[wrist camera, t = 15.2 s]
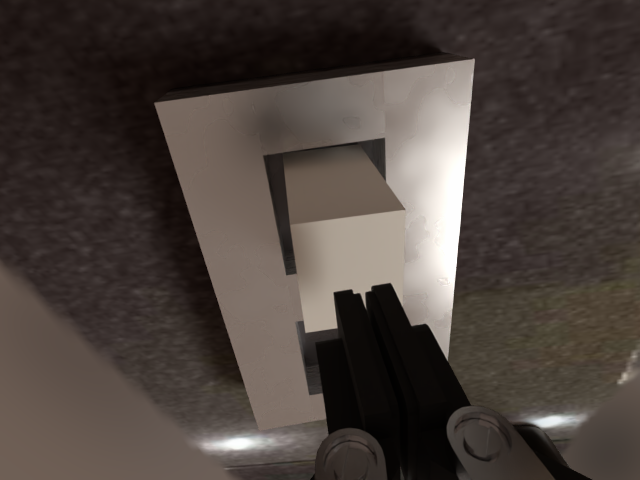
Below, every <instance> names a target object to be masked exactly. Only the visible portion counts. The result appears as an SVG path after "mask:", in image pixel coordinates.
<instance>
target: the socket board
mask: <svg viewBox="0 0 640 480" xmlns="http://www.w3.org/2000/svg"><path fill="white" fill-rule="evenodd" d="M474 62H475V59H473V58H468V57H463V56H459V55H454V54H449V53H445V52H442V53H434V54H427V55H420V56H412V57H405V58H397V59H390V60H383V61H375V62H368V63H361V64H353V65H346V66H338V67H331V68H324V69H316V70H309V71H302V72H294V73H287V74H280V75H272V76H265V77H257V78H250V79H243V80H235V81H228V82H221V83H213V84H206V85H198V86H191V87H184V88H176V89H171V90H170V91H169V92H168V93H166V94H165V95H164V96H162V97H161V98H160V99H159V100H157V101H156V102H155V103H154V104H155V107H156V110H157V113H158V116H159V119H160V122H161V126H162V129H163V132H164V135H165V138H166V141H167V144H168V147H169V150H170V154H171V157H172V160H173V163H174V166H175V169H176V172H177V175H178V179H179V182H180V185H181V188H182V191H183V194H184V197H185V200H186V203H187V207H188V210H189V213H190V216H191V219H192V222H193V225H194V228H195V232H196V235H197V238H198V241H199V244H200V247H201V250H202V253H203V256H204V260H205V263H206V266H207V269H208V272H209V275H210V278H211V281H212V285H213V288H214V291H215V294H216V297H217V300H218V303H219V306H220V309H221V313H222V316H223V319H224V322H225V325H226V328H227V331H228V334H229V338H230V341H231V344H232V347H233V350H234V353H235V356H236V359H237V362H238V366H239V369H240V372H241V375H242V378H243V381H244V384H245V387H246V391H247V394H248V397H249V400H250V403H251V406H252V409H253V412H254V416H255V419H256V422H257V425H258V428H259V431H260V430H266V429H271V428H277V427H283V426H288V425H294V424H300V423H305V422H311V421H316V420H322V419H326V412H325V406H324V399H323V392H322V385H321V379H320V372H319V365H318V358H317V352H316V345H315V342H320V341H326V340H332V339H338V338H339V337H338V329H337V328H335V329H328V330H322V331H315V332H308V333H305V326H304V319H303V312H302V305H301V298H300V291H299V284H298V277H297V270H296V263H295V256H294V249H293V242H292V235H291V228H290V220H289V210H288V201H287V192H286V182H285V173H284V164H283V153H291V152H299V151H308V150H316V149H324V148H332V147H341V146H349V145H357V144H360V146H361V147H362V149H363V150H364V152H365V153H366V154H367V156H368V157H369V159H370V160H371V161H372V163H373V164H374V166H375V167H376V168H377V170H378V171H379V173H380V174H381V176H382V177H383V178H384V180H385V181H386V183H387V184H388V185H389V187H390V188H391V190H392V191H393V192H394V194H395V195H396V197H397V198H398V200H399V201H400V202H401V204H402V205H403V207H404V208H405V209H406V215H405V245H404V276H403V306H402V307H403V309H404V311H405V313H406V315H407V317H408V319H409V321H410V324H411V326H414V325H420V324H427V325H428V326H429V327H430V329H431V331H432V333H433V334H434V336H435V338H436V340H437V342H438V344H439V346H440V348H441V350H442V351H443V353H444V355H445V357H446V359H447V361H448V351H449V340H450V328H451V317H452V306H453V295H454V284H455V273H456V262H457V251H458V240H459V228H460V217H461V206H462V195H463V184H464V173H465V162H466V151H467V140H468V128H469V117H470V106H471V95H472V84H473V73H474Z"/></svg>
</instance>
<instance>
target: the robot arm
mask: <svg viewBox="0 0 640 480" xmlns="http://www.w3.org/2000/svg"><path fill="white" fill-rule="evenodd" d="M333 295H334V304H335V312H336V320H337V329H338V337H339V338H338V339H332V340H326V341H320V342H315V345H316V352H317V358H318V365H319V372H320V379H321V385H322V392H323V399H324V406H325V412H326V419H327V426H328V433H329V436H328V437H327V438H326V439H325V440H324V441H323V442H322V443H321V445H320V447H319V449H318V451H317V455H316V461H315V474H314V475H313V477H312V478H311V479H310V480H400V466H401V469H402V472H403V476H404V479H405V480H592V479H590V478H587V477H586V476H584V475H582V474H580V473H578V472H576V471H574V470H572V469H570V468H568V467H566V466H564V465H562V464H560V463H558V462H556V461H554V460H552V459H550V458H548V457H546V456H544V455H542V454H540V453H538V452H536V451H534V450H532V449H531V448H530V447H529V446H528V444H527V443H526V442H525V441H524V439H523V438H522V437H521V436H520V434H519V433H518V432H517V430H516V429H515V428H514V427H513V425H512V424H511V423H510V422H509V421H508V420H507V419H506V418H505V417H503V416H502V415H500V414H499V413H497V412H495V411H494V410H491V409H488V408H485V407H481V406H471V404H470V402H469V400H468V399H467V397H466V395H465V393H464V391H463V389H462V387H461V385H460V383H459V382H458V380H457V378H456V376H455V374H454V372H453V370H452V368H451V366H450V365H449V363H448V361H447V359H446V357H445V355H444V353H443V351H442V350H441V348H440V346H439V344H438V342H437V340H436V338H435V336H434V334H433V333H432V331H431V329H430V327H429V326H428V325H427V324H420V325H414V326H411V324H410V321H409V319H408V317H407V315H406V313H405V311H404V309H403V307H402V305H401V302H400V300H399V298H398V296H397V294H396V292H395V290H394V288H393V286H392V284H391V283H386V284H380V285H374V286H372V287H371V291H368V292H365V299H366V308H365V305H364V302H363V299H362V296H361V294H360V293H356V294H354V293H353V290H352V289H349V290H343V291H337V292H333Z"/></svg>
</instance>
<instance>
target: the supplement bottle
mask: <svg viewBox="0 0 640 480" xmlns="http://www.w3.org/2000/svg"><path fill="white" fill-rule="evenodd" d="M514 428H515V429H516V430H517V432H518V433H519V434H520V436H521V437H522V438H523V439H524V441H525V442H526V443H527V444H528V446H529V447H530V448H531V449H532V450H534V451H536V452H538V453H540V454H542V455H544V456H546V457H548V458H550V459H552V460H554V461H556V462H558V463H560V464H562V465H564V466H566V467H568V468H570V467H569V465H568V464H567V462H566V461H565V460H564V458H563V457H562V455H561V454H560V452H559V451H558V449H557V448H556V446H555V445H554V444H553V442H552V441H551V439H550V438H549V436H548V435H547V434H546V433H545V432H544V431H542V430H541V429H539V428H537V427H533V426H527V425H522V426H515V427H514ZM570 469H571V468H570Z"/></svg>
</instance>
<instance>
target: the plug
mask: <svg viewBox="0 0 640 480" xmlns="http://www.w3.org/2000/svg"><path fill="white" fill-rule="evenodd" d="M283 164H284V173H285V182H286V192H287V201H288V210H289V220H290V228H291V235H292V242H293V249H294V256H295V263H296V270H297V277H298V284H299V291H300V298H301V305H302V312H303V319H304V326H305V333H308V332H315V331H322V330H328V329H335V328H337V320H336V312H335V304H334V295H333V292H337V291H343V290H349V289H352V290H353V293H354V294H356V293H360V294H361V296H362V299H363V302H364V305H365V308H366V299H365V292H368V291H371V287H372V286H374V285H380V284H386V283H391V284H392V286H393V288H394V290H395V292H396V294H397V296H398V298H399V300H400V302H401V305H402V306H403V276H404V245H405V215H406V209H405V208H404V207H403V205H402V204H401V202H400V201H399V200H398V198H397V197H396V195H395V194H394V192H393V191H392V190H391V188H390V187H389V185H388V184H387V183H386V181H385V180H384V178H383V177H382V176H381V174H380V173H379V171H378V170H377V168H376V167H375V166H374V164H373V163H372V161H371V160H370V159H369V157H368V156H367V154H366V153H365V152H364V150H363V149H362V147H361V146H360V144H357V145H349V146H341V147H332V148H324V149H316V150H308V151H299V152H291V153H283Z"/></svg>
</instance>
